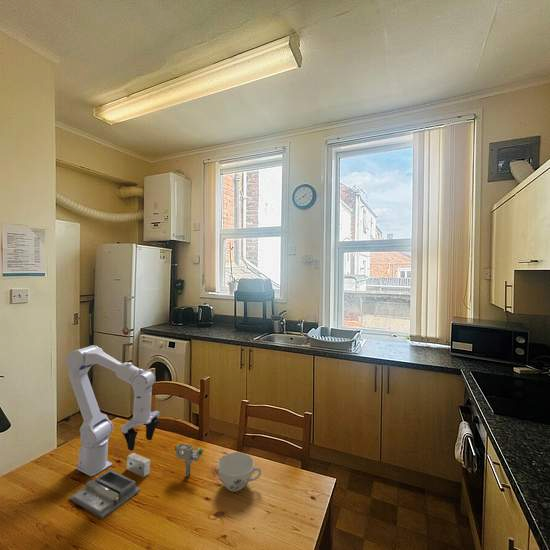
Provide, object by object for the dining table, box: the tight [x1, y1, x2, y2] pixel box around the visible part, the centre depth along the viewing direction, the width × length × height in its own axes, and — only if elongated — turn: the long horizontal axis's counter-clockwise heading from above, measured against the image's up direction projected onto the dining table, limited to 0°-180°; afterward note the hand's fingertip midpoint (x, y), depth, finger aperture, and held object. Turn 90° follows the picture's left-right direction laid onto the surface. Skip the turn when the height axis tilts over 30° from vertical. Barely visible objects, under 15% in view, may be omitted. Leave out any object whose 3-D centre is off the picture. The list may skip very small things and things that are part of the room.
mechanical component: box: [174, 443, 204, 478], centre depth 105 cm, size 3×10×10 cm, turn 78°
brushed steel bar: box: [126, 452, 151, 478], centre depth 106 cm, size 9×2×5 cm, turn 64°
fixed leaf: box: [68, 469, 141, 520], centre depth 94 cm, size 16×13×3 cm
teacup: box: [216, 451, 262, 493], centre depth 101 cm, size 15×12×8 cm
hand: (140, 444), depth 105 cm, fingers open, 7 cm apart
